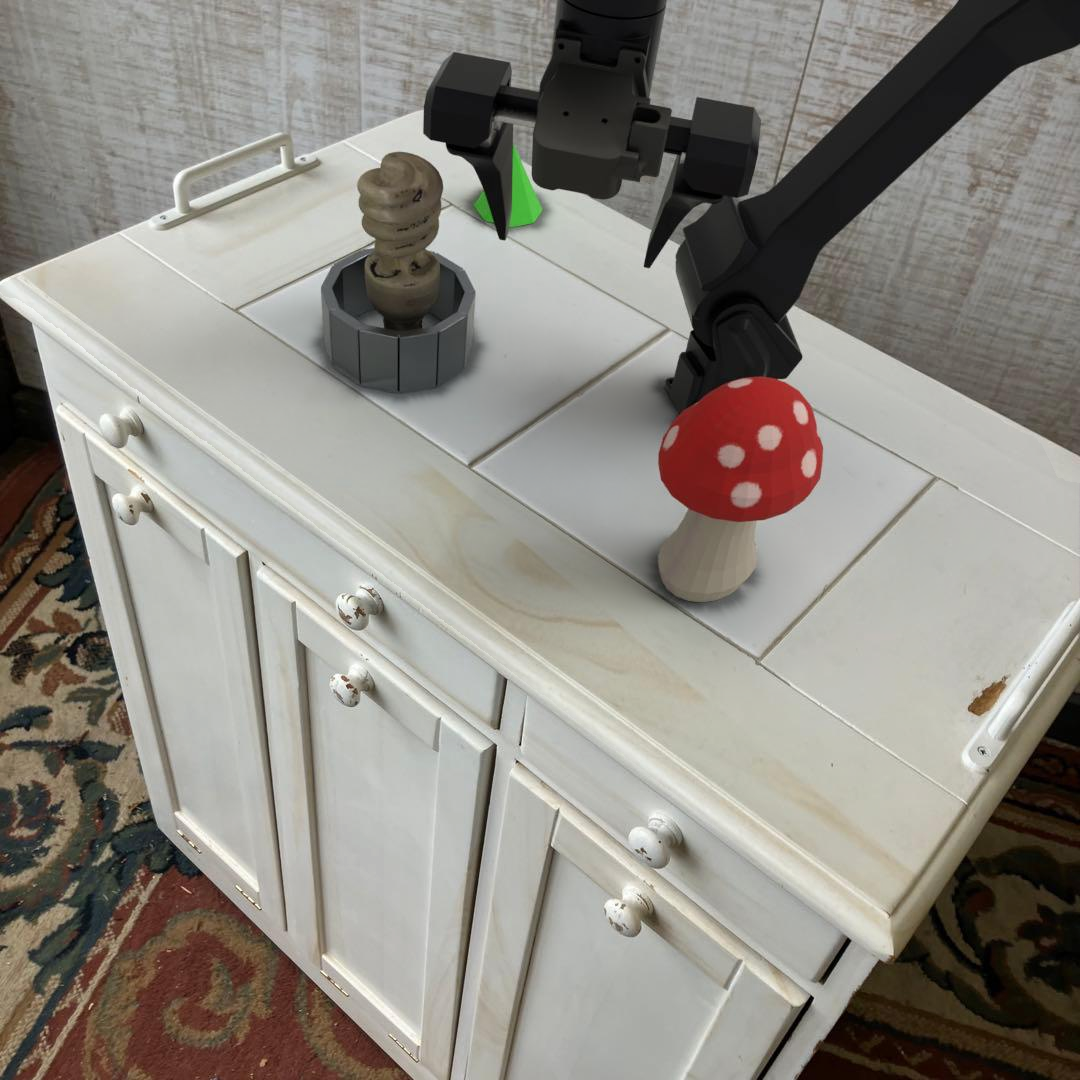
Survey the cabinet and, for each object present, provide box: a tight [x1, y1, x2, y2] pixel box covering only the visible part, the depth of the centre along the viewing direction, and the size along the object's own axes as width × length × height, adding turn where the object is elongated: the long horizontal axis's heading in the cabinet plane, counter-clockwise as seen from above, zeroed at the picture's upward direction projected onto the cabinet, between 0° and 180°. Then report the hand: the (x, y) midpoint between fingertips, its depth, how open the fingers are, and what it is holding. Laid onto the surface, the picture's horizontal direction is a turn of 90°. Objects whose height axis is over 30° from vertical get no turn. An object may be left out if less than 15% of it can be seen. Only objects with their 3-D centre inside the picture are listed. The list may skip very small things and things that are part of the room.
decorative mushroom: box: [657, 377, 824, 603], centre depth 64 cm, size 10×9×15 cm
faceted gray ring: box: [320, 247, 476, 394], centre depth 79 cm, size 11×11×5 cm
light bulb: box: [356, 151, 444, 331], centre depth 75 cm, size 6×6×15 cm
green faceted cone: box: [473, 143, 543, 228], centre depth 92 cm, size 6×6×6 cm
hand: (575, 250), depth 68 cm, fingers open, 9 cm apart
